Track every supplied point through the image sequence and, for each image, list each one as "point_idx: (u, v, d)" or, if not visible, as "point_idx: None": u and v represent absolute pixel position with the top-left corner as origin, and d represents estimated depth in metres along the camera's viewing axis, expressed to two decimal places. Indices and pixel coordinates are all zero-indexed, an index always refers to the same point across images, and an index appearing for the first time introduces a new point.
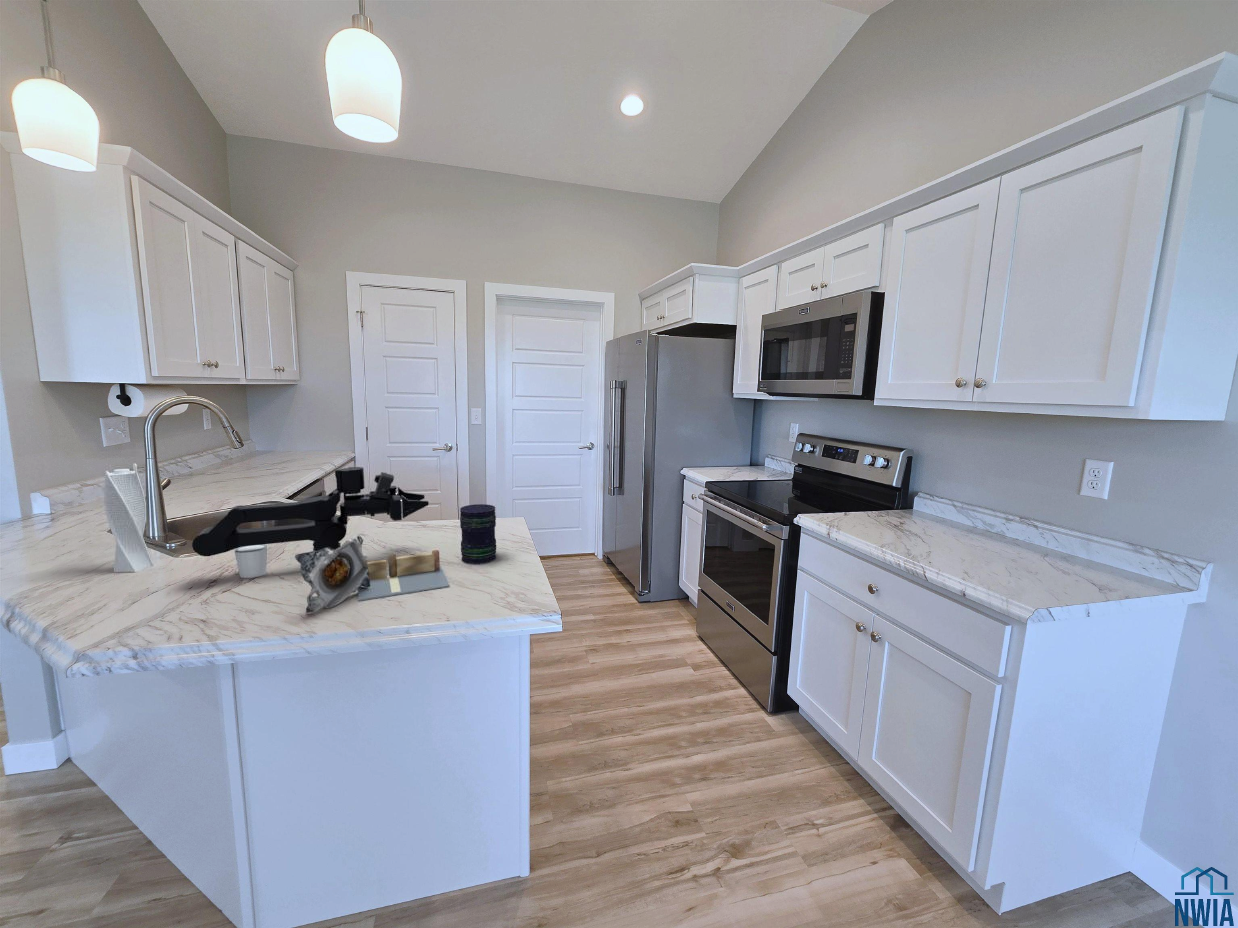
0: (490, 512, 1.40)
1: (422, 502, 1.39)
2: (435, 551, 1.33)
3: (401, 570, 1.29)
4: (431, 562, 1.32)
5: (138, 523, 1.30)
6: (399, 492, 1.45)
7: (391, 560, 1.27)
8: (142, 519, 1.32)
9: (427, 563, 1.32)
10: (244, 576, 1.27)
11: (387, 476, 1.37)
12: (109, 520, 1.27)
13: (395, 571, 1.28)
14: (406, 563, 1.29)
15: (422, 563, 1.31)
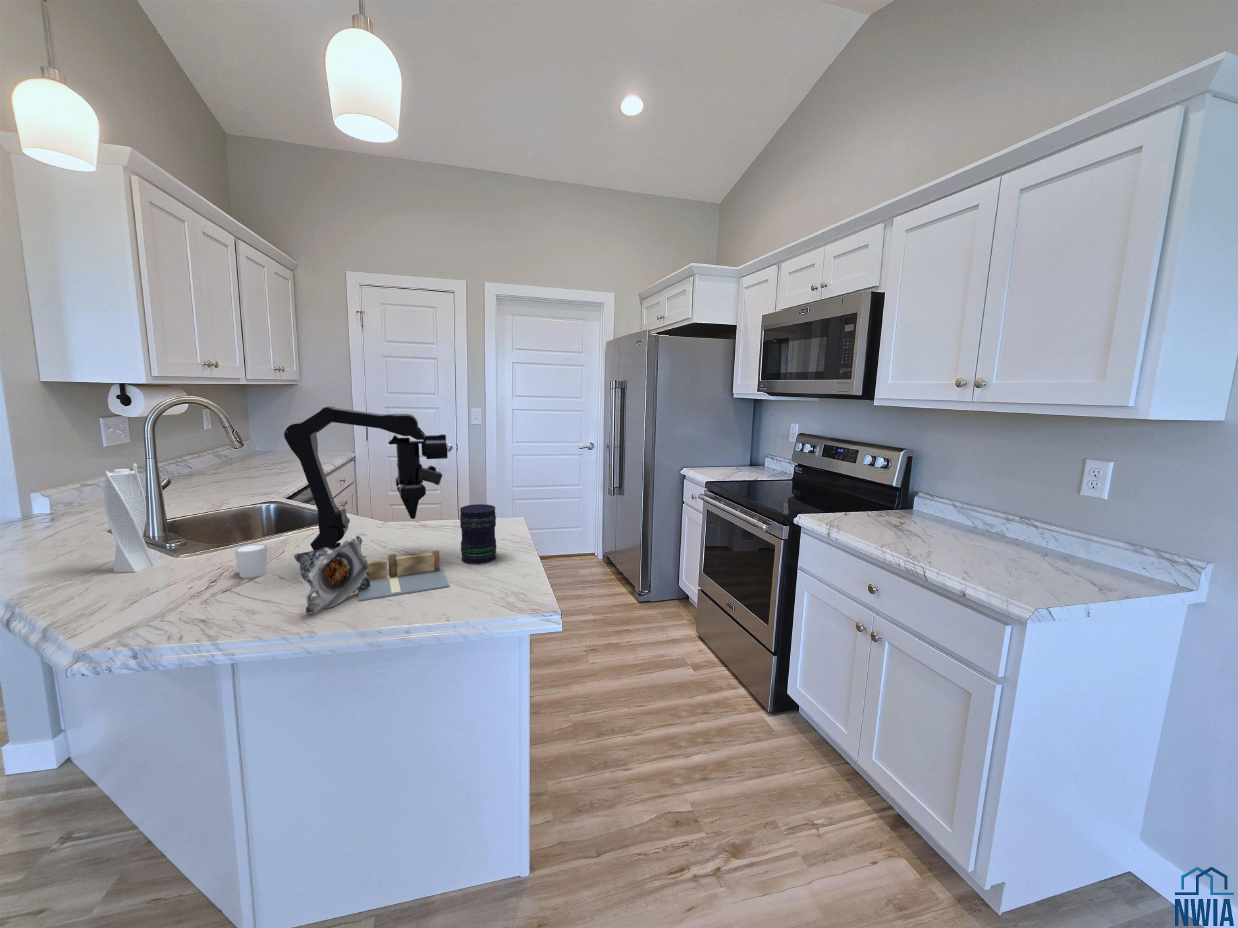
0: (490, 512, 1.40)
1: (414, 513, 1.36)
2: (435, 551, 1.33)
3: (401, 570, 1.29)
4: (431, 562, 1.32)
5: (138, 523, 1.30)
6: None
7: (391, 560, 1.27)
8: (142, 519, 1.32)
9: (427, 563, 1.32)
10: (244, 576, 1.27)
11: (440, 479, 1.40)
12: (109, 520, 1.27)
13: (395, 571, 1.28)
14: (406, 563, 1.29)
15: (422, 563, 1.31)
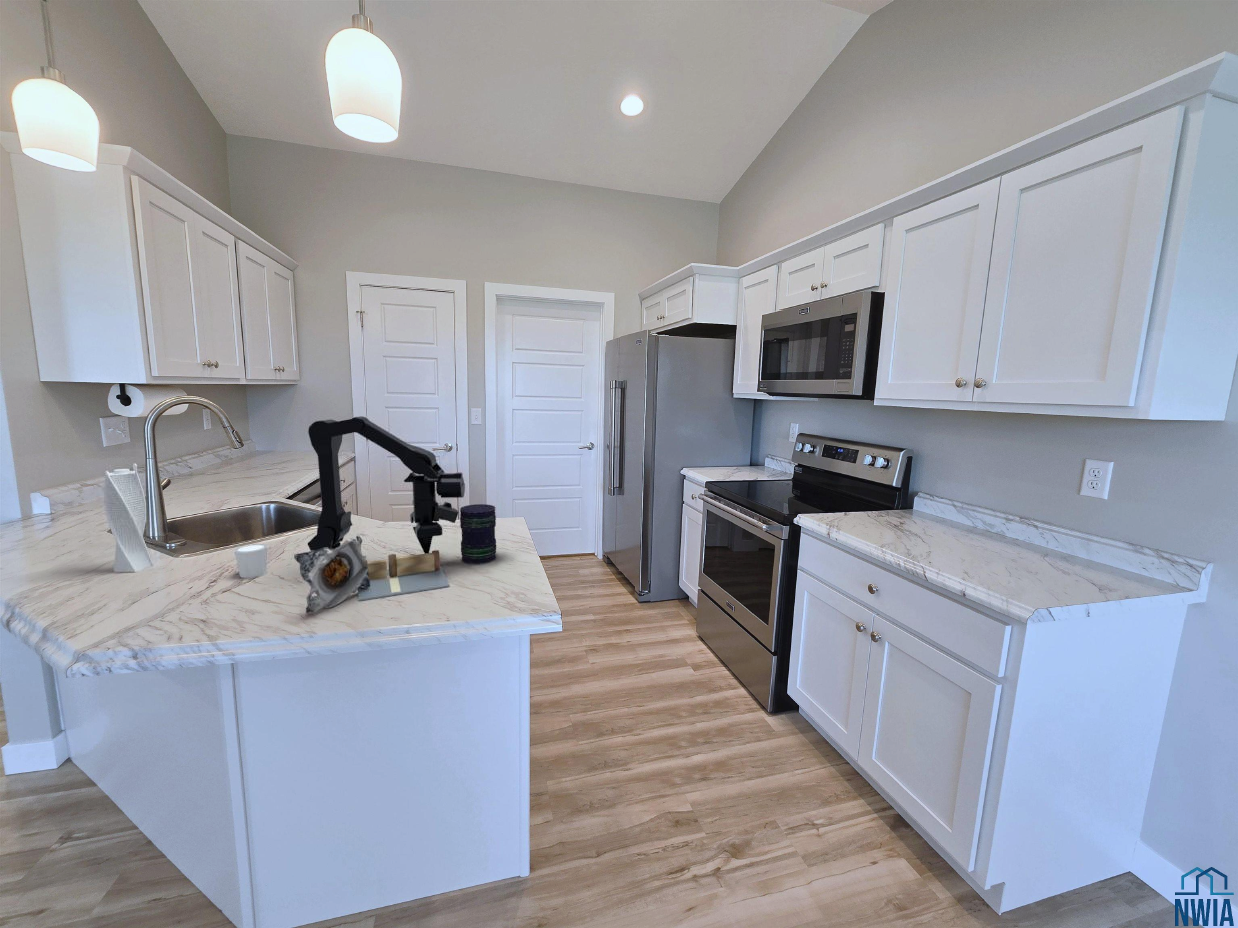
0: (490, 512, 1.40)
1: (428, 548, 1.37)
2: (435, 551, 1.33)
3: (401, 570, 1.29)
4: (431, 562, 1.32)
5: (138, 523, 1.30)
6: None
7: (391, 560, 1.27)
8: (142, 519, 1.32)
9: (427, 563, 1.32)
10: (244, 576, 1.27)
11: (456, 517, 1.38)
12: (109, 520, 1.27)
13: (395, 571, 1.28)
14: (406, 563, 1.29)
15: (422, 563, 1.31)
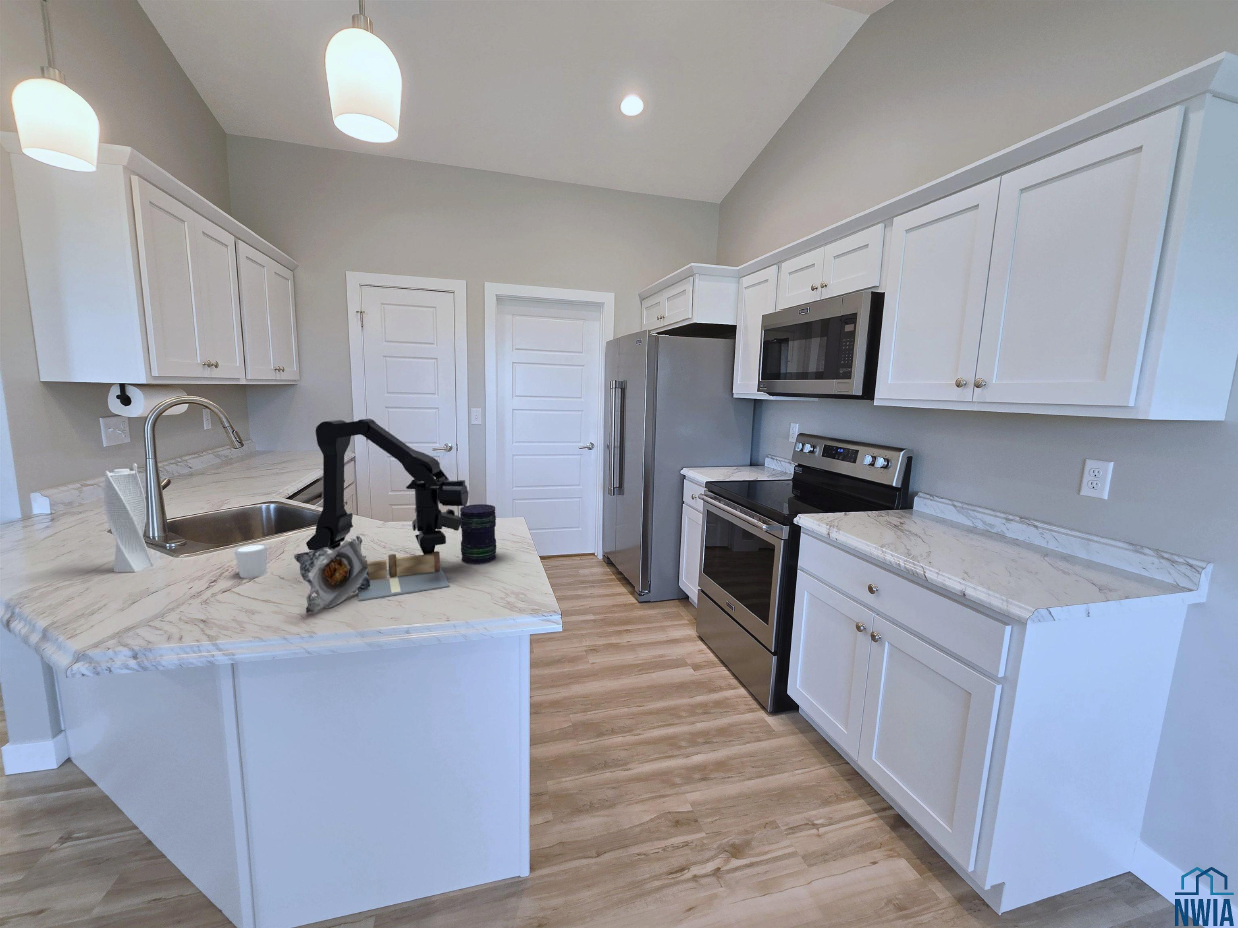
0: (490, 512, 1.40)
1: None
2: (435, 552, 1.32)
3: (400, 570, 1.29)
4: (431, 563, 1.31)
5: (138, 523, 1.30)
6: None
7: (390, 560, 1.27)
8: (142, 519, 1.32)
9: (427, 564, 1.31)
10: (244, 576, 1.27)
11: (459, 524, 1.35)
12: (109, 520, 1.27)
13: (395, 571, 1.28)
14: (406, 563, 1.29)
15: (422, 564, 1.30)
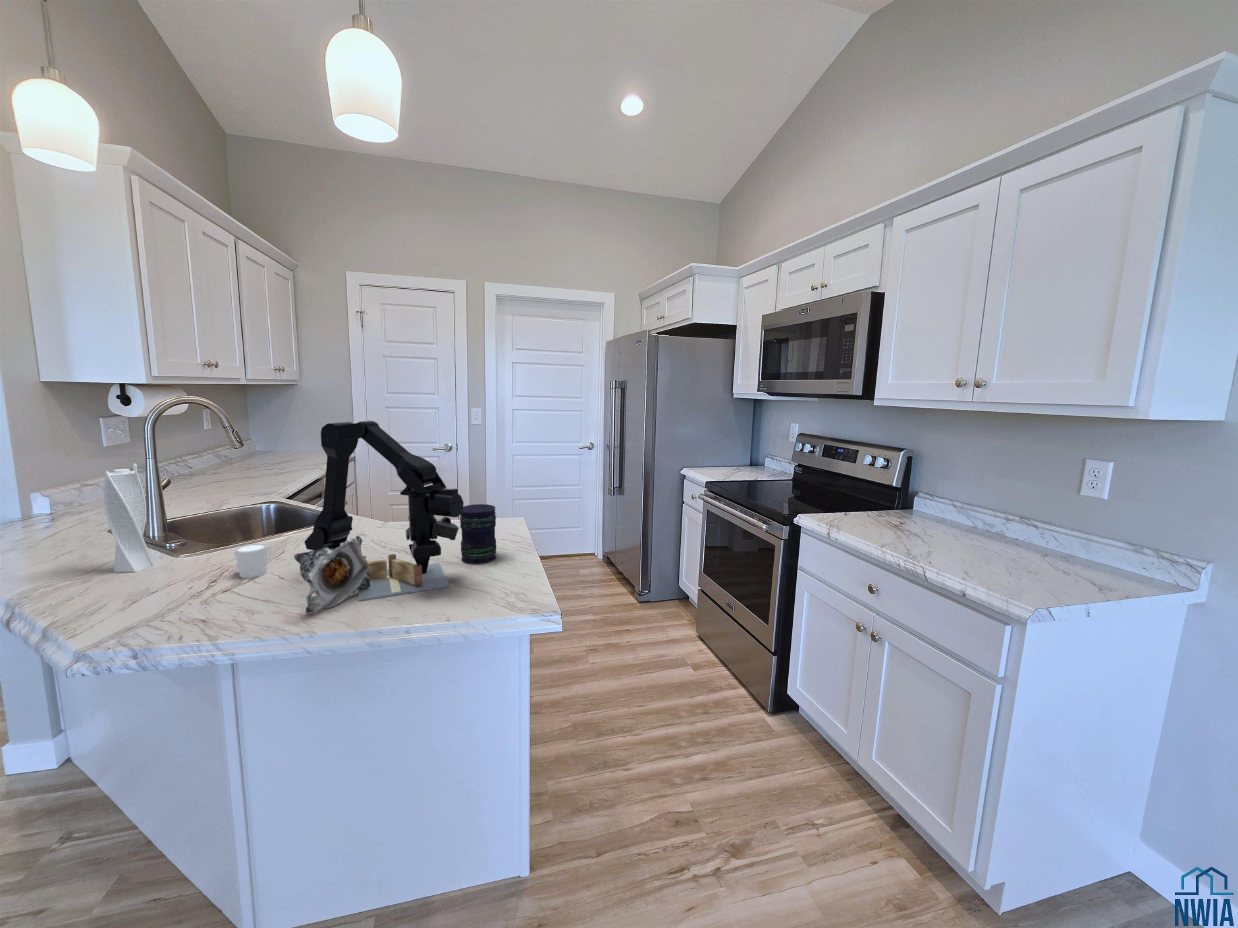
0: (490, 512, 1.40)
1: (426, 568, 1.26)
2: (417, 565, 1.22)
3: (394, 573, 1.27)
4: (412, 575, 1.23)
5: (138, 523, 1.30)
6: None
7: (388, 559, 1.28)
8: (142, 519, 1.32)
9: (409, 575, 1.23)
10: (244, 576, 1.27)
11: (456, 533, 1.27)
12: (109, 520, 1.27)
13: (391, 572, 1.28)
14: (397, 567, 1.26)
15: (406, 573, 1.24)
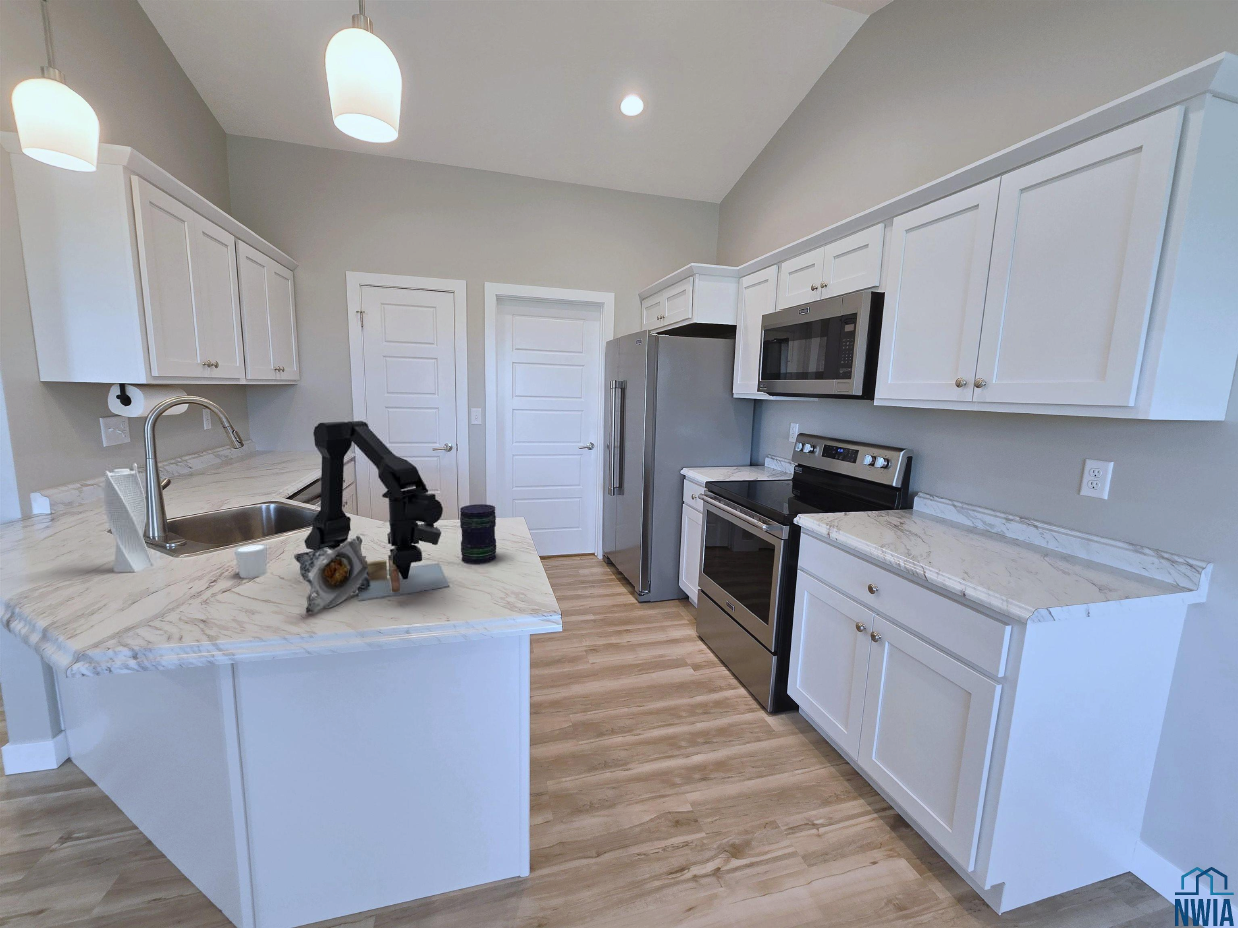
0: (490, 512, 1.40)
1: (407, 573, 1.22)
2: (394, 570, 1.19)
3: None
4: None
5: (138, 523, 1.30)
6: None
7: None
8: (142, 519, 1.32)
9: None
10: (244, 576, 1.27)
11: (438, 538, 1.23)
12: (109, 520, 1.27)
13: (390, 572, 1.28)
14: None
15: None
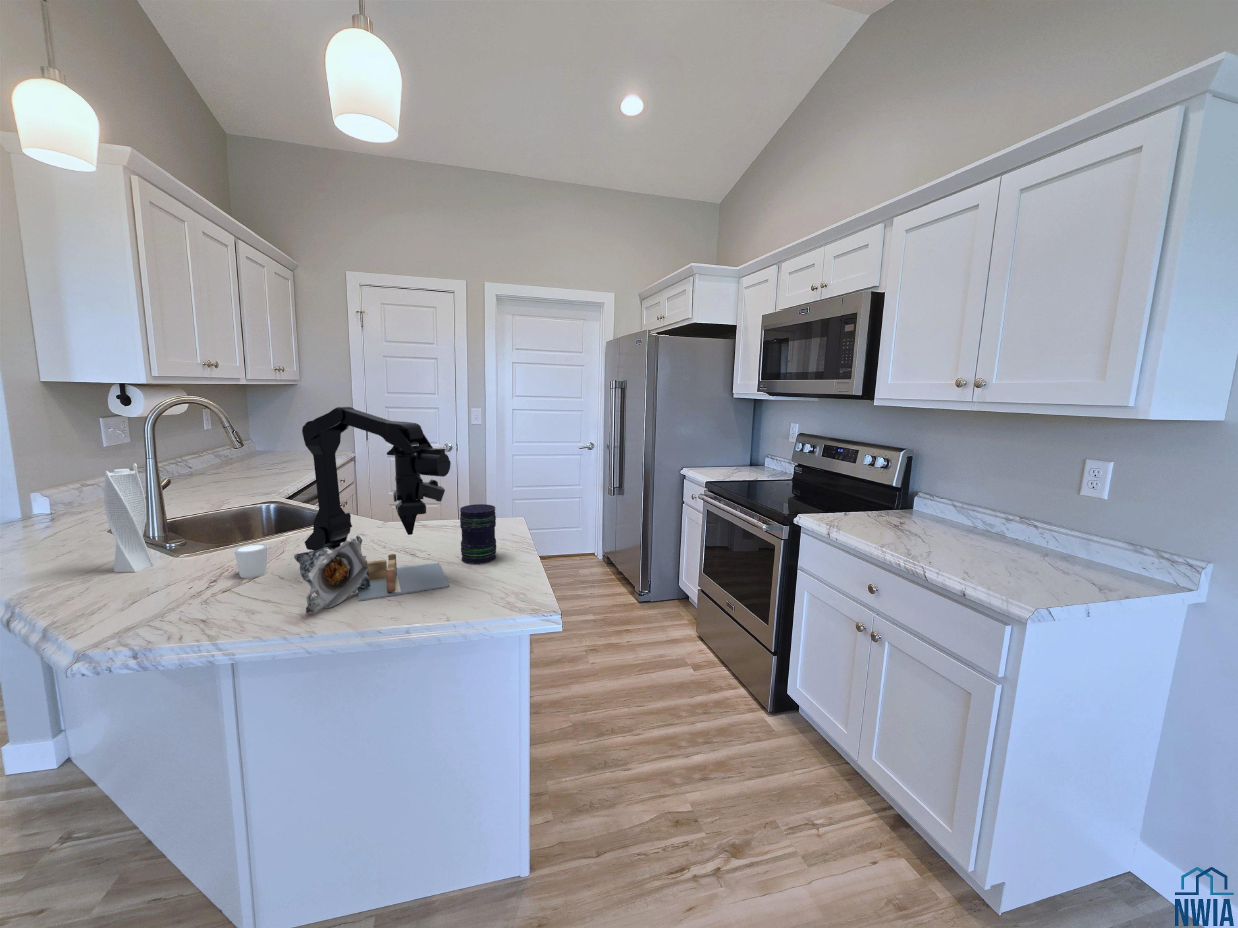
0: (490, 512, 1.40)
1: (412, 528, 1.26)
2: (389, 570, 1.18)
3: None
4: None
5: (138, 523, 1.30)
6: None
7: None
8: (142, 519, 1.32)
9: None
10: (244, 576, 1.27)
11: (442, 495, 1.27)
12: (109, 520, 1.27)
13: None
14: None
15: None
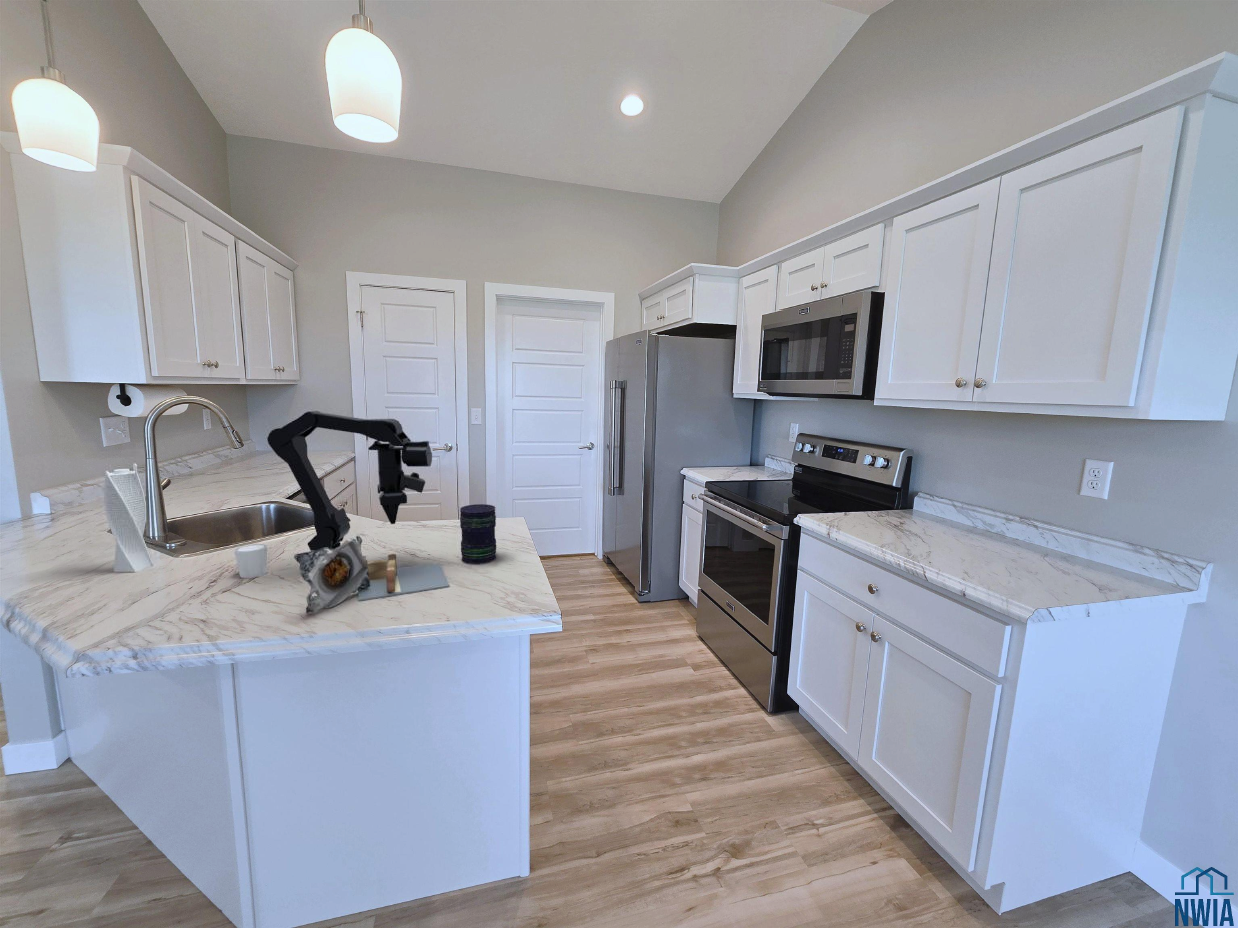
0: (490, 512, 1.40)
1: (394, 518, 1.35)
2: (389, 570, 1.18)
3: None
4: None
5: (138, 523, 1.30)
6: None
7: None
8: (142, 519, 1.32)
9: None
10: (244, 576, 1.27)
11: (423, 486, 1.36)
12: (109, 520, 1.27)
13: None
14: None
15: None
